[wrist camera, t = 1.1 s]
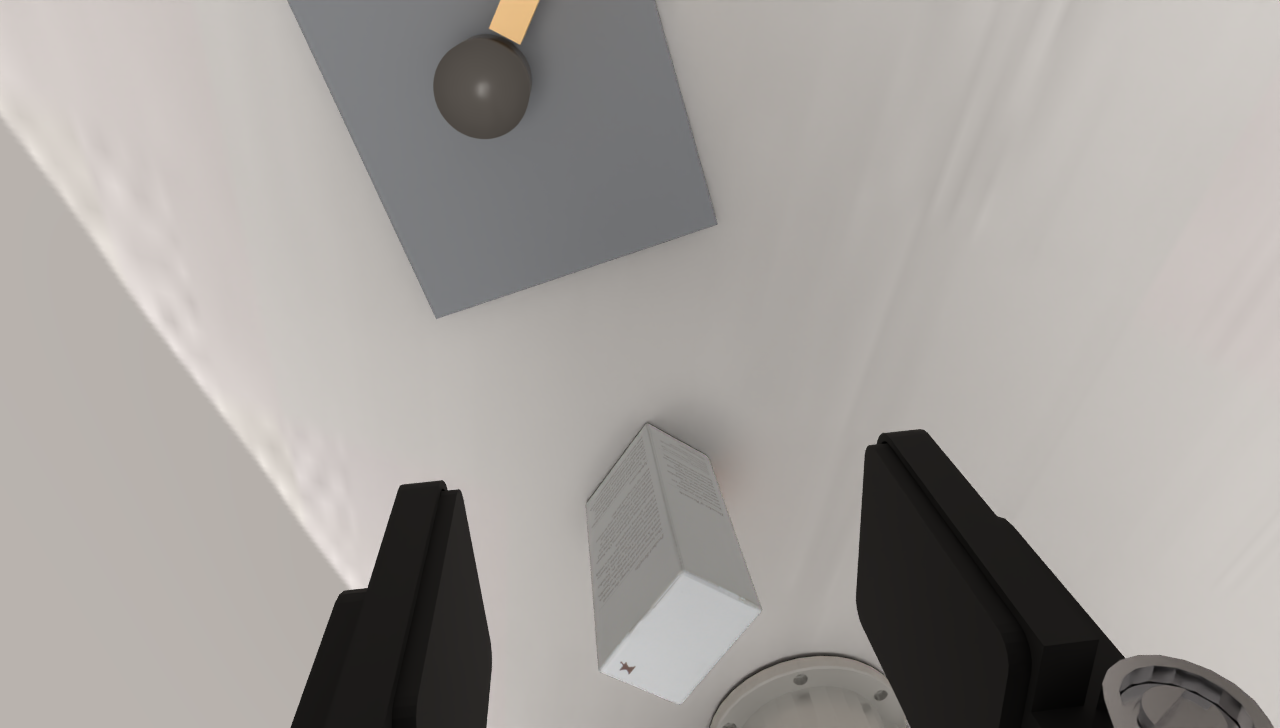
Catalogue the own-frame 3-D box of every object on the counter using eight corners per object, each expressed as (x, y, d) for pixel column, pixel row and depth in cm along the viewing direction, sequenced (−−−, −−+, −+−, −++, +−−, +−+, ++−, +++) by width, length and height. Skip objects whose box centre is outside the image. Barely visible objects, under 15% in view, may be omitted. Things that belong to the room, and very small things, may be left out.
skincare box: (649, 535, 45) (678, 711, 34) (583, 502, 43) (593, 674, 33) (713, 454, 43) (767, 612, 32) (647, 417, 42) (679, 569, 31)
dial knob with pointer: (511, 137, 34) (506, 155, 30) (433, 99, 33) (419, 112, 29) (609, -87, 30) (616, -96, 27) (526, -136, 30) (522, -153, 26)
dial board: (714, 219, 37) (720, 227, 36) (438, 312, 38) (434, 323, 37) (567, -302, 29) (568, -314, 28) (214, -171, 30) (199, -178, 28)
